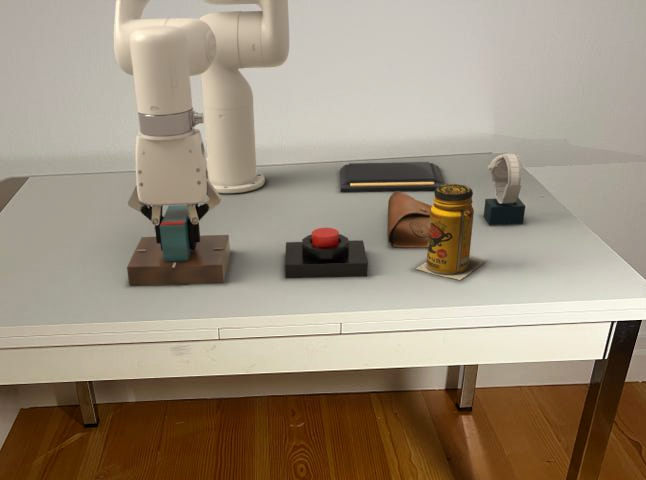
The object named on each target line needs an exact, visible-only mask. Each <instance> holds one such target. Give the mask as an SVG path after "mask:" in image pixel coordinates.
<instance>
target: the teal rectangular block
mask: <svg viewBox="0 0 646 480" xmlns="http://www.w3.org/2000/svg"><path fill="white" fill-rule="evenodd" d="M163 217H164V218H163V220H162V222H161V225H160V233H161V241H162V250H163V259H164V262H172V261H188V259H189V256H190V253H191V249H190V245H189V235H188V223H189V219H190V217H189V213H188V209H187V205H186V204H184V205H167V208H166V211H165V213H164V215H163Z"/></svg>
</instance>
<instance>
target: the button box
mask: <svg viewBox="0 0 646 480" xmlns="http://www.w3.org/2000/svg"><path fill="white" fill-rule="evenodd" d="M284 252H285V253H284V254H285V255H284V257H285V258H284V278H285V279H321V278H364V277H368V274H369V273H368V271H369V267H368V266H369V263H368V258H367V253H366V247H365V242H364V240H363V239H360V240H355V239H354V240H349V238H348V237H347V236H345V235H343V234H341V233H339V244H338V245H335V246H330V247H320V246H315V245H313V244H312V234H308V235H306V236H304V237H303V238H302V239H301V241H287V242H285V251H284Z"/></svg>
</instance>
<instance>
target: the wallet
mask: <svg viewBox="0 0 646 480" xmlns="http://www.w3.org/2000/svg"><path fill="white" fill-rule="evenodd" d="M339 171H340V172H339V175H340V193H364V192H365V193H368V192H369V193H370V192H371V193H372V192H373V193H375V192H396V191H400V192H431V191H432V192H435V189H436V188H437V187H439V186H441V185H445V180H444V177H443V174H442V172H441V168H440V166H439V165H437V164H435V163H433V162H429V161H405V162H404V161H400V162H355V163H354V162H350V163H348V164H344V165H343V166H342V167H340V170H339Z"/></svg>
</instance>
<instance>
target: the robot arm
mask: <svg viewBox="0 0 646 480" xmlns="http://www.w3.org/2000/svg"><path fill="white" fill-rule="evenodd" d="M202 2H204V3H206V4H209V5H216V6H217V5H220V6H222V5H223V6H227V5H257V6H259V7H260V9H261V10H248V11H246V10H245V11H242V10H235V11H234V10H233V11H215V12H211V13H206V14H204V15H202V16H201V17H199V18H196V17H195V18H194V17H185V18H184V17H179V18H178V17H177V18H176V17H175V18H169V17H165V18H164V17H162V18H142V15H143V13H144V10H145V8H146V6H147V5H148V3H150V0H115V7H114V19H113V20H114V22H113V53H114V57H115V60H116V64H117V65H118V67H119V69H121V71H123V72H124V73H125V74H127V75H130V76H133V84H134V90H135V99H136V108H137V115H138V123H139V131H138V132H137V133H136V136H135V150H134V152H135V157H134V159H135V161H134V162H135V180H136V181H135V182H136V183H135V184H136V185H135V187H134V189H133V191H132V193H131V195H130V197H129V199H128V201H127V205H128V207H130V208H132V209H133V210H136V211H137V212H139V213H141V214H142V216H145V218H146V219H148V220H149V221H150V222H151V224H152V225H153V226H154V232H155V237H156V241H157V243H160V244H161V251H163V250H162V241H161V233H160V225H161V222H162V220H163V218H164V215H163V210H164V206H174V205H187V209H188V213H189V217H190V219H189V223H188V235H189V245H190V249H191V250H195V247H196V244H197V242H200V236H201V230H200V221H201V219H203V217H204V216H205V215H206V214H207V213H208V212H209V211H210V210H212V209H214V208H216V207H217V206H218V205H219V204H221V201H222V196H221V195H220V194H240V193H241V194H242V193H247V192H251V191H254V190H257V189H260V188H261V187H262V186H264V184H265V178H266V177H265V175H264V174H262V173H261V172H258V171H257V157H256V155H257V154H256V134H255V131H256V130H255V112H254V109H255V108H254V95H253V90H252V87H251V84H250V83H249V81H248V80H247V79H246V77H244V75H243V74H242V73H241V71H240V70H239V69H258V68H259V69H262V68H266V69H267V68H276V67H280V66H283V64H285V62H287V60H288V57H289V53H290V20H289V19H290V18H289V0H202ZM193 76H199V77H200V83H201V90H202V91H201V92H202V102H203V112H200V113H198V112H196V110H194V107H193V99H192V98H193V97H192V88H191V87H192V86H191V77H193ZM199 124H204V128H205V129H204V130H205V142H206V150H205V144H204V141H203V140H204V139H203V136H202V133H201V130H200V129H199V128H195V127H196V126H197V125H199ZM206 153H207V156H206ZM207 197H208V199H207ZM199 204H200V205H199Z"/></svg>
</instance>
